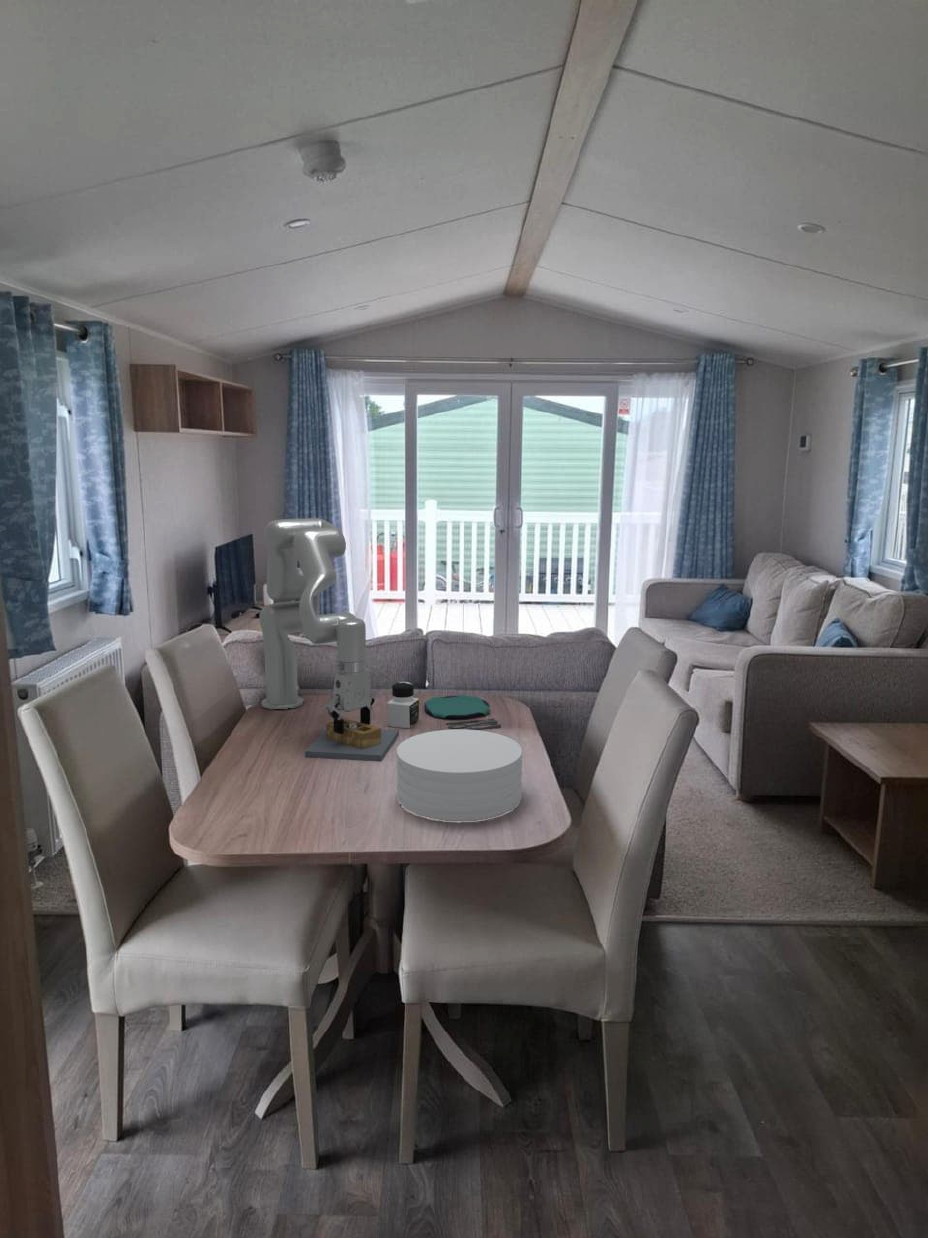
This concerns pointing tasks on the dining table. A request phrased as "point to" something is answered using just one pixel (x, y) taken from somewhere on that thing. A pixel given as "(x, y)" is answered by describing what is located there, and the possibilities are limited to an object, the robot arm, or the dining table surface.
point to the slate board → (351, 748)
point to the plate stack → (459, 774)
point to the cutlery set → (460, 710)
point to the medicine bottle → (402, 706)
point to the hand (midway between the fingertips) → (352, 728)
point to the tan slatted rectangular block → (355, 734)
